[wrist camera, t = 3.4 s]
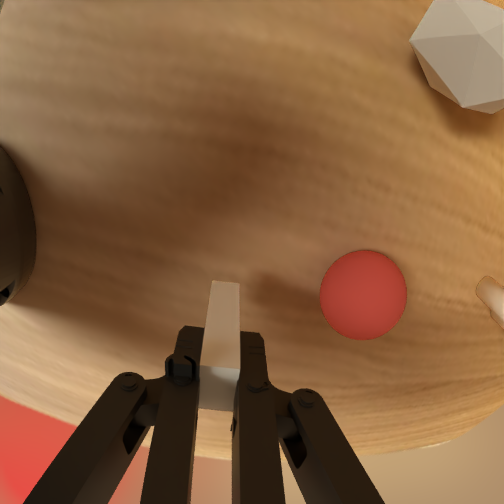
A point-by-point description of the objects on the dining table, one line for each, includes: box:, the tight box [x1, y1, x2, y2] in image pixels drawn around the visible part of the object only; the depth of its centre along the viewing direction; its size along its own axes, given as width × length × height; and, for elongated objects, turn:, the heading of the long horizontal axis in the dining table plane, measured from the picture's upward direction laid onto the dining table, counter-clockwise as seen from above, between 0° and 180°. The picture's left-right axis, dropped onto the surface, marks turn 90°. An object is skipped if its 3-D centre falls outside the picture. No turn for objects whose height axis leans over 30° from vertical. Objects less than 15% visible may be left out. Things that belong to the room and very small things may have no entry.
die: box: [409, 0, 504, 114], centre depth 12 cm, size 8×9×10 cm
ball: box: [320, 251, 407, 340], centre depth 20 cm, size 6×6×6 cm
